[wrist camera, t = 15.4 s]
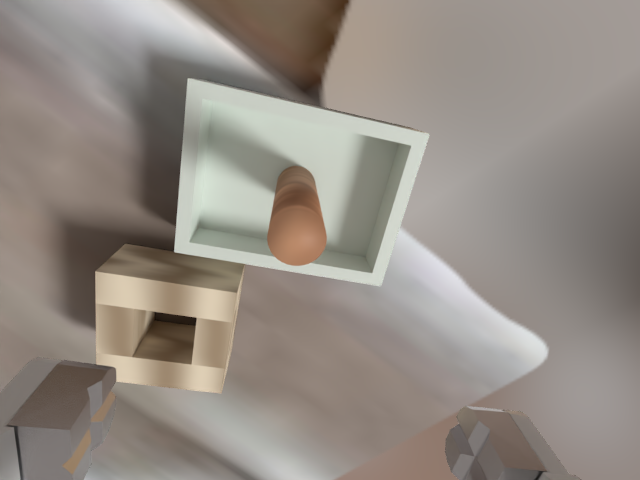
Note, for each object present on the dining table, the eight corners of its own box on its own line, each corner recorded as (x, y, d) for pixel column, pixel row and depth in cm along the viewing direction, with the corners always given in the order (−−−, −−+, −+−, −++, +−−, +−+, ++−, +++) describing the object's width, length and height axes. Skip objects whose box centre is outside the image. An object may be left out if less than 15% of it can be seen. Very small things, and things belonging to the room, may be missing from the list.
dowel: (274, 199, 29) (262, 260, 19) (280, 162, 28) (272, 205, 18) (311, 206, 29) (319, 270, 19) (319, 170, 28) (332, 217, 18)
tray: (188, 232, 30) (174, 252, 27) (202, 79, 26) (187, 78, 22) (371, 264, 33) (380, 286, 29) (412, 128, 28) (429, 134, 25)
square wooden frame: (123, 340, 34) (96, 379, 30) (125, 243, 30) (95, 271, 26) (230, 353, 36) (221, 393, 31) (245, 263, 32) (236, 293, 27)
